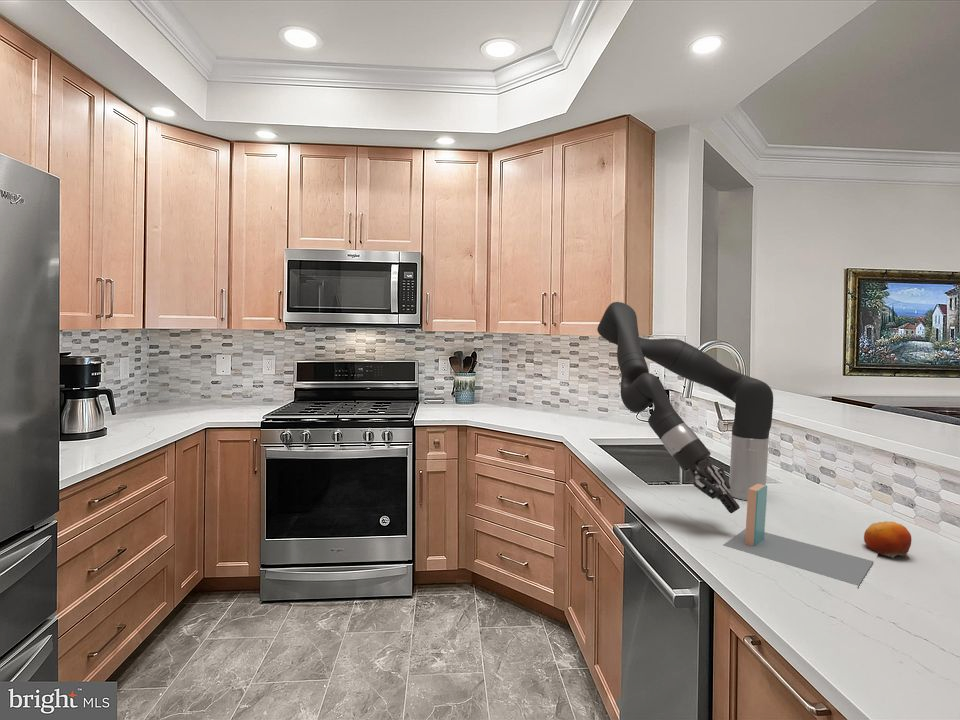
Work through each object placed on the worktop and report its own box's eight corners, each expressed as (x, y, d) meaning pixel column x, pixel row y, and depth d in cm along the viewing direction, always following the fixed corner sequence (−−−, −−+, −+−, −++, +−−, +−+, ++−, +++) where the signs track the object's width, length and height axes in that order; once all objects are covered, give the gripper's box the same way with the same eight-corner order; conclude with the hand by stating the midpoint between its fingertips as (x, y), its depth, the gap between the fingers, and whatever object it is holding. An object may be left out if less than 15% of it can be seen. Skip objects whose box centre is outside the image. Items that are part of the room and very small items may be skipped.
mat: (747, 530, 124) (747, 527, 124) (873, 564, 107) (873, 561, 107) (722, 547, 114) (722, 545, 114) (858, 588, 97) (858, 585, 97)
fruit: (901, 560, 106) (883, 519, 110) (867, 565, 113) (851, 526, 117) (931, 556, 108) (912, 516, 112) (895, 561, 115) (879, 523, 119)
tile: (754, 536, 119) (757, 483, 118) (764, 538, 117) (767, 485, 117) (745, 543, 115) (748, 488, 114) (754, 546, 113) (758, 491, 112)
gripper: (685, 451, 133) (733, 512, 125) (660, 459, 124) (711, 526, 116) (707, 434, 129) (759, 495, 121) (684, 441, 120) (738, 509, 112)
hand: (735, 510), depth 119 cm, fingers closed
